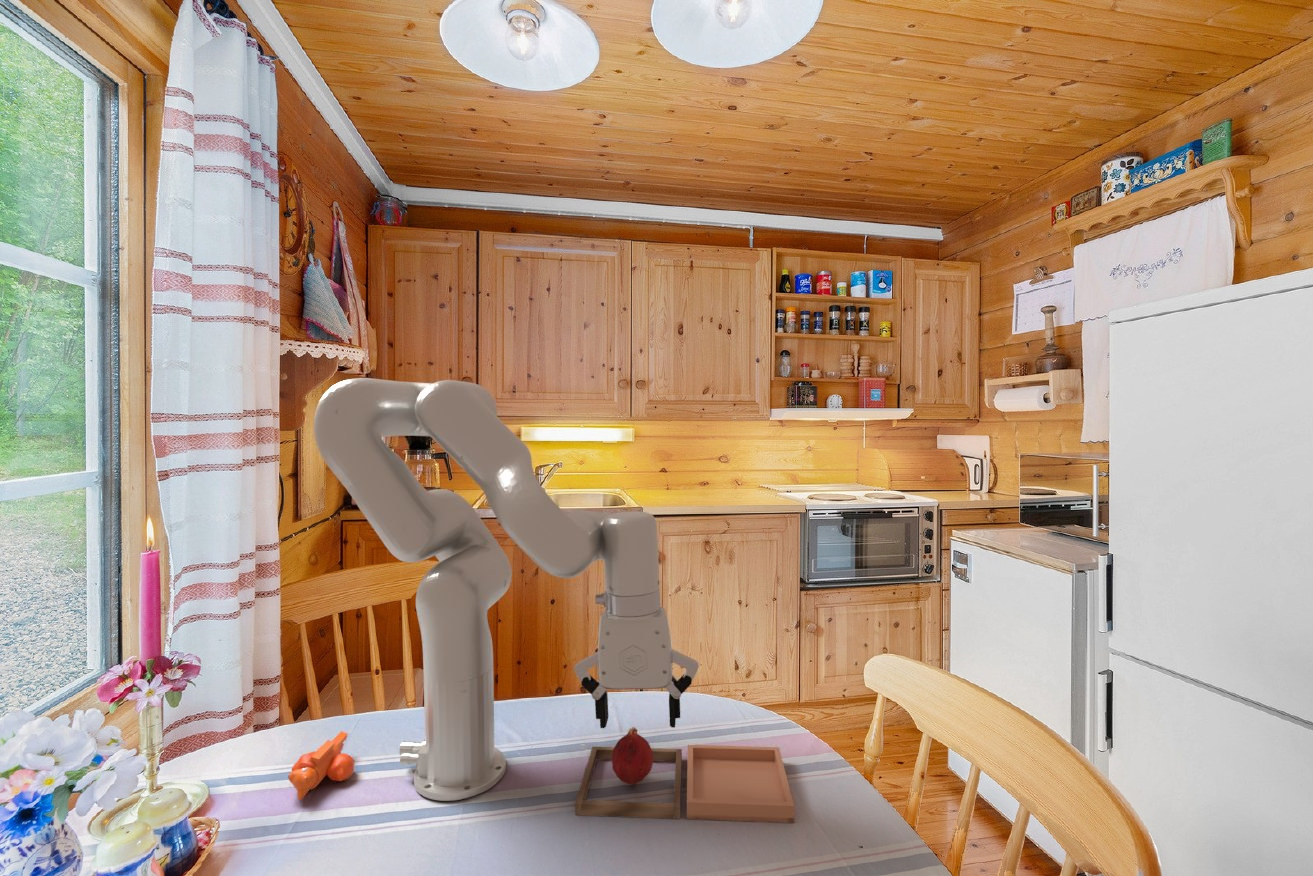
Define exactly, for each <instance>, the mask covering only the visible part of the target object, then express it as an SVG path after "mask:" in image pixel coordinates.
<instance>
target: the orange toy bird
mask: <svg viewBox="0 0 1313 876" xmlns="http://www.w3.org/2000/svg"><path fill="white" fill-rule="evenodd" d="M348 735H349V733H348V732H345V731H340V732H339V733H338V734H337V735H336V736H335V737H334V738H333V739H332V740H329V739H327V740H326V741H325V742H324V743H323V744H322V745H321V746H320V747H319V748H318V749H317V750H315V751H310V752H307V753H305V754H301V755H300V756H299V758H298V760H297V761H296V762H295V763H294V764H293V766H292V767H291V772H290V773H289V774H288V776H287V779H288V781H289V783H291V785H292V786H293V787H294V789H295V791H296V792H297V797H296V798H297V800H303V798H304V797H305V796H306V795H307V794H308V793H309V792H308V790H309V789H311V790H313V789H315V788H317V786H318V785H319V784H320V783H321V782H322V781H323V779H325V777H326V776H327V777H328V778H329V779H330V780H332V781H337V782H343V780H344V781H346V780H345V779H347V778H348V779H350V778H351V776H352V774H354V771H355V770H354V769H355V768H354V767H355V760H354V758H353V757H352V756H351V755H349V754H347V753H344V752H343V753H342V750H343V749H344V745H345V743H344V742H345V741H346V740H347V738H348ZM348 779H347V780H348Z"/></svg>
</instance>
